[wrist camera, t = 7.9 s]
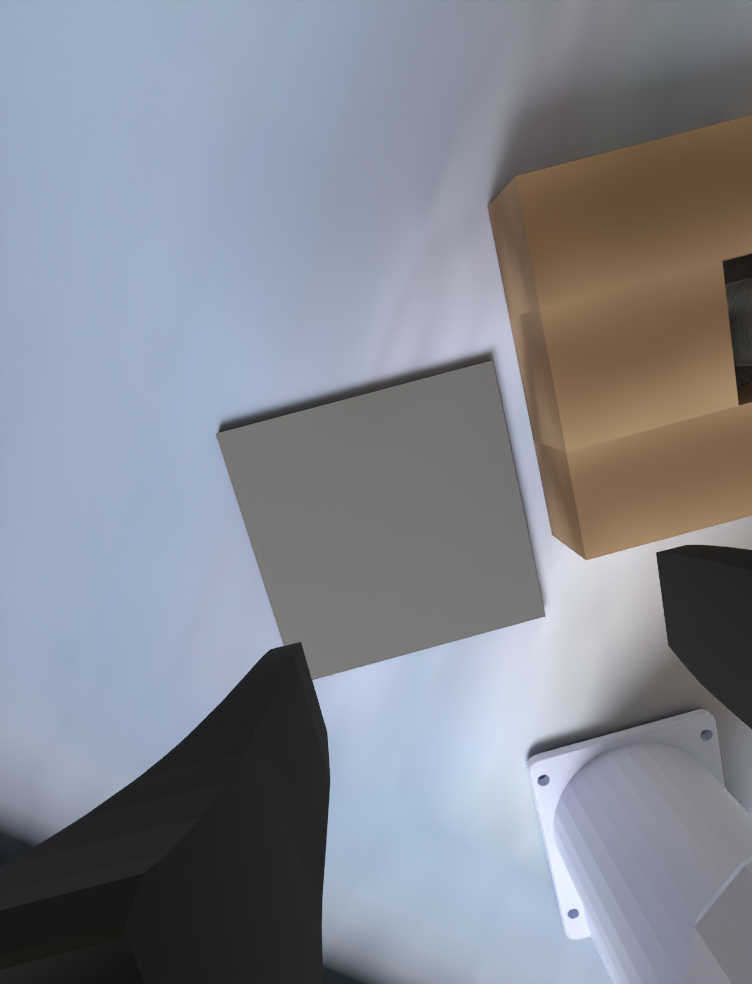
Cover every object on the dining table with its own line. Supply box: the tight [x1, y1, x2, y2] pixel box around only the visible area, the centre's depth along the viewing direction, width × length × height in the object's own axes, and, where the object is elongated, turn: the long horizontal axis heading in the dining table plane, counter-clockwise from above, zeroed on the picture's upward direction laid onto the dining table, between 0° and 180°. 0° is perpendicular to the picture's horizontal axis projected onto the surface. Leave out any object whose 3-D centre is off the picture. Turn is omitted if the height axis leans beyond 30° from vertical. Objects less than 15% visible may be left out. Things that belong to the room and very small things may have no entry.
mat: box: [216, 360, 545, 680], centre depth 21 cm, size 10×10×1 cm
